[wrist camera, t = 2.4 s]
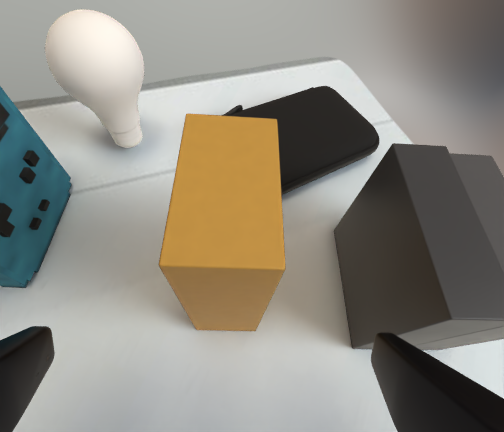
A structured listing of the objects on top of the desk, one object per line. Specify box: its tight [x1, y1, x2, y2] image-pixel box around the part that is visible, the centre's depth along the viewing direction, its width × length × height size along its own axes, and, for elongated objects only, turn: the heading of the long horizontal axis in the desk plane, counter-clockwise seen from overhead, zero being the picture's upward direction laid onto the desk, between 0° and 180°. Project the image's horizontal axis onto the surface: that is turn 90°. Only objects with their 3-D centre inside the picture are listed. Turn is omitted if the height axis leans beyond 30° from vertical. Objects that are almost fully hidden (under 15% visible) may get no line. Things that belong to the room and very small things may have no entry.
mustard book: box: [159, 114, 285, 331], centre depth 16 cm, size 4×7×12 cm, turn 0°
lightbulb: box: [45, 10, 144, 148], centre depth 22 cm, size 6×6×11 cm
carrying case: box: [222, 86, 379, 195], centre depth 27 cm, size 11×3×15 cm
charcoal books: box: [334, 143, 504, 350], centre depth 17 cm, size 7×9×10 cm
